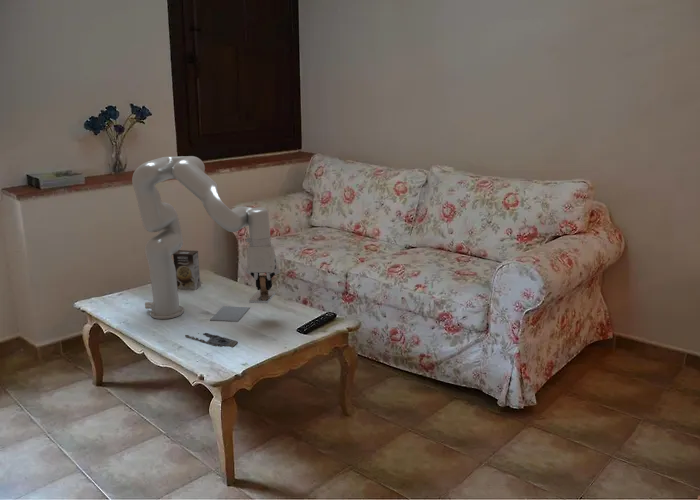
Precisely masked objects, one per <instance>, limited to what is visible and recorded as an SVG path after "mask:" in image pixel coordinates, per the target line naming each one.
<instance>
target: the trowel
mask: <svg viewBox="0 0 700 500" xmlns="http://www.w3.org/2000/svg"><path fill="white" fill-rule="evenodd" d="M266 280H267V274H266V273H262V274H260V275H259V283H260V290H257V291H256V292H255V293H254V294H253V295H252V296H251V298H250V299H248V303H249V304H269V303H270V302H271V300H272V299H273V298H274V296H275V295H276V291H273V290H272V291H271V290H267V285H266Z"/></svg>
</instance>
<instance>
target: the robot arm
mask: <svg viewBox="0 0 700 500" xmlns="http://www.w3.org/2000/svg"><path fill="white" fill-rule="evenodd" d="M205 170H206V166H205V164H204V162H203V160H202V159H201V158H199V157H197V156H194V155H188V156H187V155H186V156H183V155H181V156H162V157H158V158H155V159H151V160H149V161H145V162H143V163H142V164H140V165H139V166H138V167H137V168H135V170H134V172H133V174H132V178H131V180H132V182H131V184H132V188H133V192H134V194H135V197H136V201H137V207H138V210H139V215H140V219H141V223H142V226H143V228H144V229H145V230H146V231H147V232H149V233H157V232H158V234H156V235H153V236H152V237H150V238H149V239H148V240H147V242H146V243H145V246H144V253H145V257H146V260H147V264H148V268H149V278H150V284H151V292H152V302H151V301H145V302H144V306H145V307H144V308H145V309H148V310H149V309H151V311H150V316H151V318H154V319H157V320H166V319H173V318H176V317H179V316H181V315H182V314H184V312H185V309H184V307H183V306H181V305H180V301H179V300H180V299H179V298H180V297H179V289H178V287H177V278H176V269H175V265H174V259H173V258H172V257H173V254H174V253H176V252H177V251H179V250H182V247H183V245H184V238H183V237H184V236H183V232H182V227H181V225H180V224H181V223H180V218H179V215H178V211H177V210H176V209H175V207H174V206H173V205H172V204H171V203H169V202H165V201H164V202H163V201H162V197H161V193H160V191H159V189H158V188H157V187H156V185H157V184H159V183H163V182H164V181H165V182H166V181H167V180H173V179H176V181H178V182H179V183H180V184H181V185H182V186H184V188H185V189H187V190H188V191H189V192H190V193H192V194H193V195H194V197H196V198H197V199H198V200H199V201H200V202H201V204H202V206H203V209H204V210H205V211H206V213H207V215H208V216H209V217H210V218H211V220H213V221H214V222H215V223H216V224H217V225H219V226H220V227H221V228H222V229H224V230H225V231H228V233H229V232H231V233H236V232H238V231H240V230H242V229H243V228H245V227H247V226H248V235H249V237H248V238H245V239H246V240H245V241H246V243H249V245H248V246H247V255H246V258H247V259H246V263H247V265H246V266H247V267H246V269H245V273H247V274H248V275H250V276H251V277H252V278H253V279H254V280H255V287H256V288H257V291H260V283H259V275H261V274H265V275H267V280H266V285H267V290H268V291H271V288H272V286H273V281H272V280H273V278H274V277H275V276H277V275H278V274H280V273H281V269H280V267H279V266H278V265H277V257H276V251H275V247H274V245H273V243H272V240H271V239H272V238H271V230H270V229H271V228H270V227H271V226H270V215H269V210H268V209H267V208H266V207H261V206H259V207H257V206H256V207H250V206H244V205H241V206H236V207H234V208H233V209H231V208H229V206H227V205H226V203H224V202H223V201H222V199H221V197H220V196H219V192H218V191H219V189H218V187H219V186H218V184H217V182H216V181H215V180H214V179H212V178H211V177H210V176H209V175H208V174H207V173H205Z"/></svg>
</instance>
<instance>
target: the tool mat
mask: <svg viewBox="0 0 700 500" xmlns="http://www.w3.org/2000/svg"><path fill="white" fill-rule="evenodd" d="M250 308H251V307H249V306H248V307H247V306H228V305H226V306H225V305H223V306H222V307H221V308H220V309H218V311H217V312H216V313H215V314H214V315H213V316H212V317H211V318H210V319H209V320H210V321H211V322H212V321H213V322H233V323H234V322H235V323H238V322H239V321H240V320H241V319H242V318H243V316H244V315H246V313H247V312H248V311H249V309H250ZM210 321H209V322H210Z"/></svg>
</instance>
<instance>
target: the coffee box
mask: <svg viewBox="0 0 700 500" xmlns="http://www.w3.org/2000/svg"><path fill="white" fill-rule="evenodd" d="M172 257H173V258H172V260H173V262H174V265H175V269H176V278H177V287H178V290H186V291H187V290H192V291H196V290H197V289H198V288H200V287H201V276H200V275H201V273H200V262H199V260H200V259H199V251H198V250H188V249H180V250H179V251H177V252H176V253H174V254H173V255H172Z"/></svg>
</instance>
